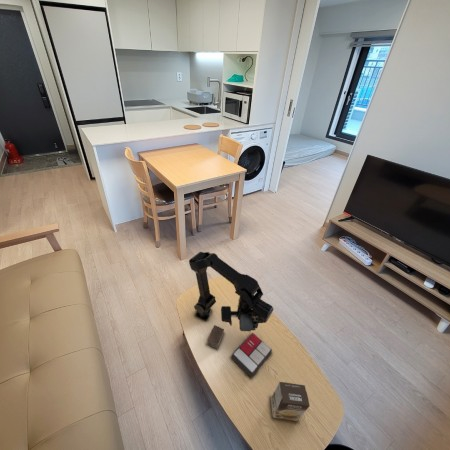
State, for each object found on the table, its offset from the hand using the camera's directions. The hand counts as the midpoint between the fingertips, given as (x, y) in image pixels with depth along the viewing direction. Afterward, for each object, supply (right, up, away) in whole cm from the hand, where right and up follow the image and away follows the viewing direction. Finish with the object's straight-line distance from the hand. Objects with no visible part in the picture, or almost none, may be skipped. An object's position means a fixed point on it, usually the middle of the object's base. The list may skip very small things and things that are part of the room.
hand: (241, 325), depth 102 cm
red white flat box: (+5, -15, +2) cm, 16 cm away
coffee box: (+14, -26, -13) cm, 33 cm away
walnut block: (-11, -10, +8) cm, 17 cm away
